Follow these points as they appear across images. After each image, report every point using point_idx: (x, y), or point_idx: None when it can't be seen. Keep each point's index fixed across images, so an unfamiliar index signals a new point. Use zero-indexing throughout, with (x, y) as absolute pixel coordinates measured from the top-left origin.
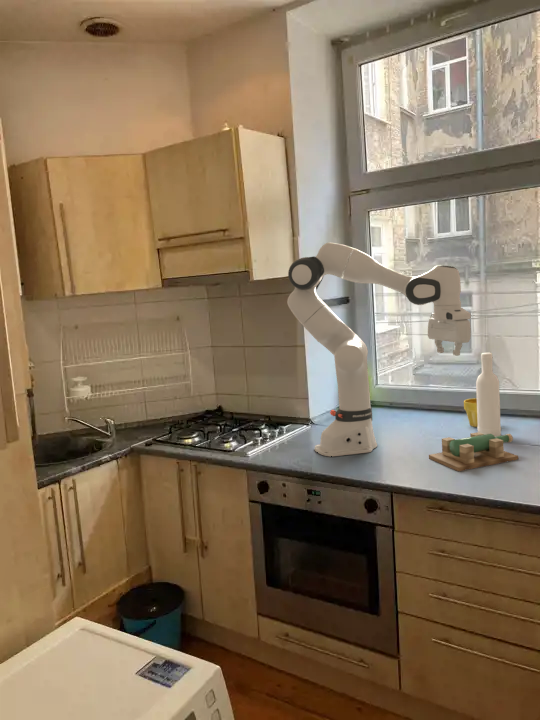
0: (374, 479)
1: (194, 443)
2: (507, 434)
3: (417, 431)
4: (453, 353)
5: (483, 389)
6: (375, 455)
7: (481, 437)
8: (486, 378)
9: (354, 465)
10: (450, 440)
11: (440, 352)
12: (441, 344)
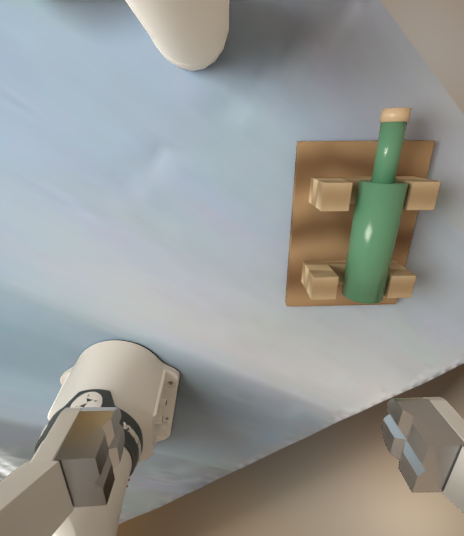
0: (326, 420)
1: None
2: (403, 120)
3: (42, 200)
4: (401, 455)
5: None
6: (203, 371)
7: (394, 227)
8: None
9: (240, 418)
10: (336, 289)
11: (121, 438)
12: (7, 508)
